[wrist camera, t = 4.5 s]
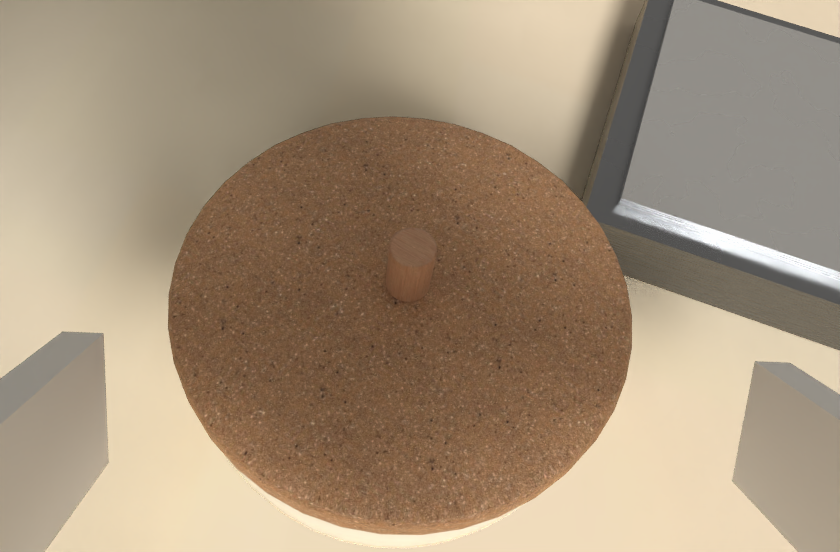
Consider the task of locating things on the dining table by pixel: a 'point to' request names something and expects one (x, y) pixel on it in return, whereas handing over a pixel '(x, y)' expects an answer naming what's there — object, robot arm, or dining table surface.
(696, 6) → the arbor press
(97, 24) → the dining table surface
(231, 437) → the lidded jar
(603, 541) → the dining table surface
